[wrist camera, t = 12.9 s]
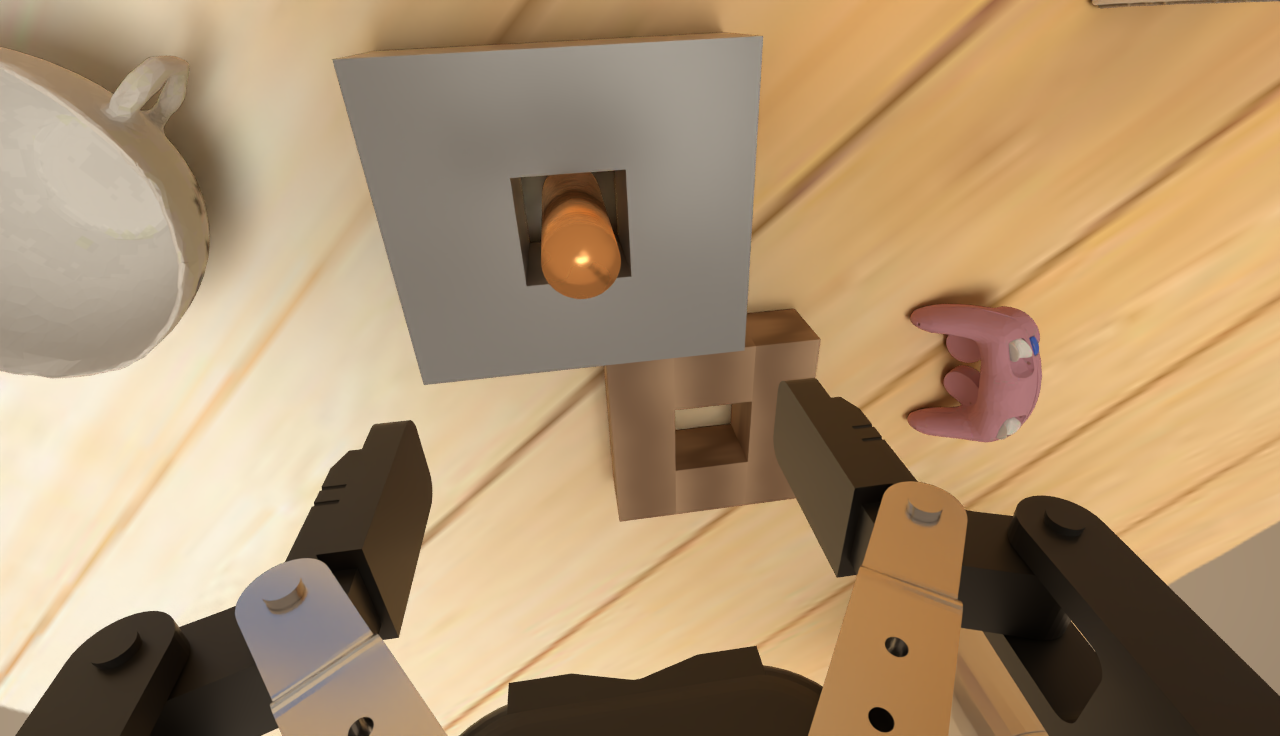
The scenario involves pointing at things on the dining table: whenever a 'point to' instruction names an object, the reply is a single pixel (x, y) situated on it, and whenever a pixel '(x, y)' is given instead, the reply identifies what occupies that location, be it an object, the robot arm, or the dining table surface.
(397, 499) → the robot arm
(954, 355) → the video game controller
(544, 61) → the dock socket
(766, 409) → the pin mount
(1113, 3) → the hard drive box
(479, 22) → the dining table surface
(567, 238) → the pin
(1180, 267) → the dining table surface
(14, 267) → the teacup
